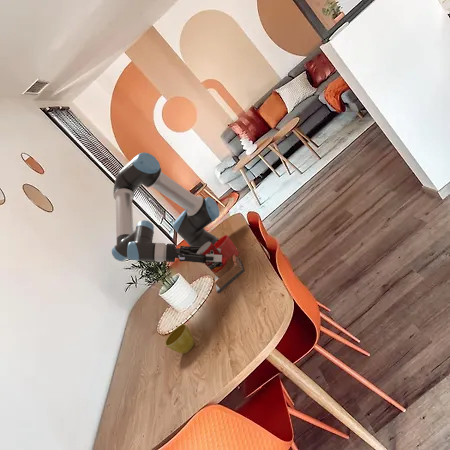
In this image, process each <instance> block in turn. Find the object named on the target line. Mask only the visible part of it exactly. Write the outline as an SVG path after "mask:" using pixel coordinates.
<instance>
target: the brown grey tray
mask: <svg viewBox="0 0 450 450" xmlns="http://www.w3.org/2000/svg"><path fill="white" fill-rule="evenodd" d="M244 272H245V269H244V265H243V263H242V259H241V257H236V256H235V255H232V256H231V257H230V258H229V259H228V260H227V263H226V265H225V266H224V267H223V268H222V269H221V270H220V271H218V272H217V273H214V272H212V273H213V274H214V276H215V277H214V282H213V283H214V284H215V289H216V293H218V294H220V293H221V292H222V291H223V290H224V289H225V288H227V287H228V286H229V285H230V284H231V283H233V282H234V281H235V280H236V279H237V278H238V277H239V276H241V275H242V274H243V273H244Z"/></svg>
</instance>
